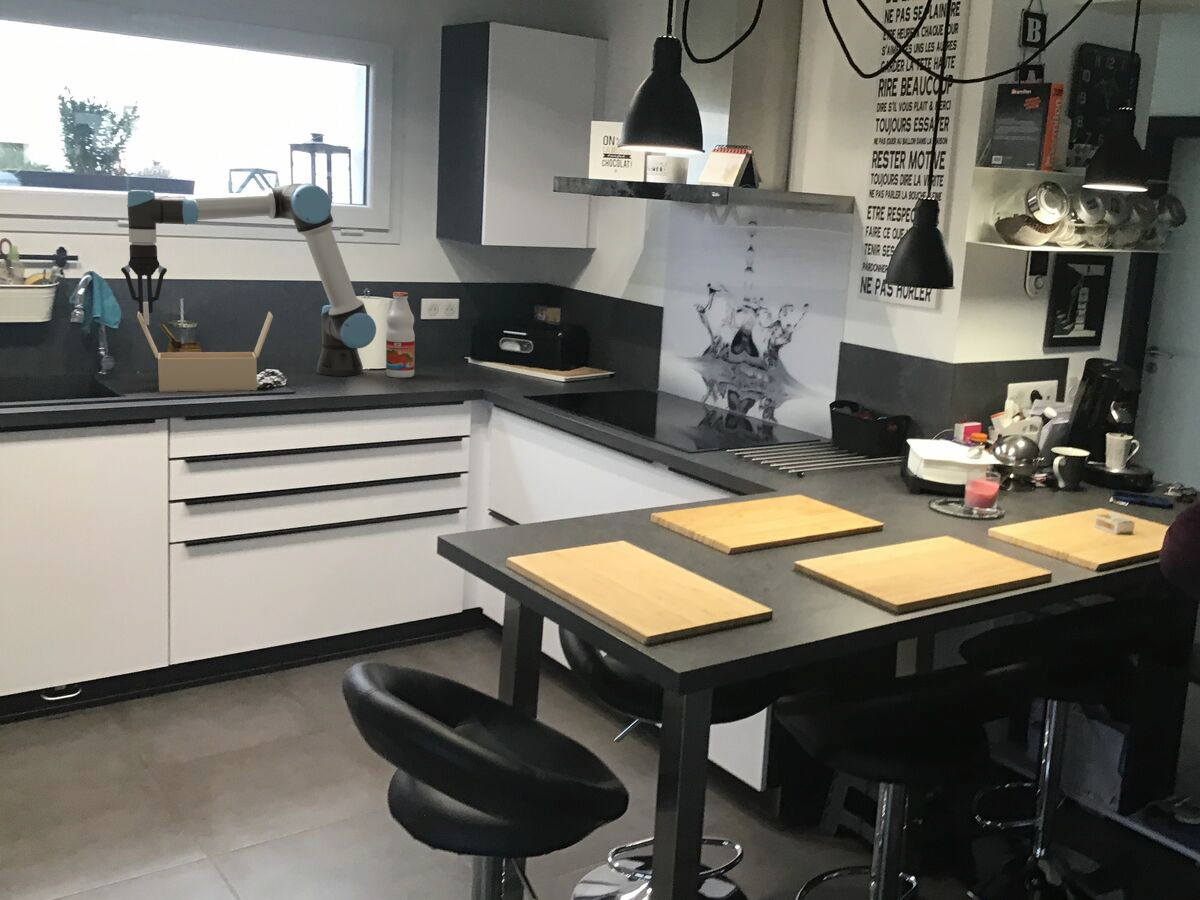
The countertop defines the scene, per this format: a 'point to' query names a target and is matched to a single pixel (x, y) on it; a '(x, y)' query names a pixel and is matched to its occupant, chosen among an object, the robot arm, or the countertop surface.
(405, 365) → the fruit juice
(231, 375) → the carton
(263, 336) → the flap
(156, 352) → the flap
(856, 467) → the countertop surface
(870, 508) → the countertop surface
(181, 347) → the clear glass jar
